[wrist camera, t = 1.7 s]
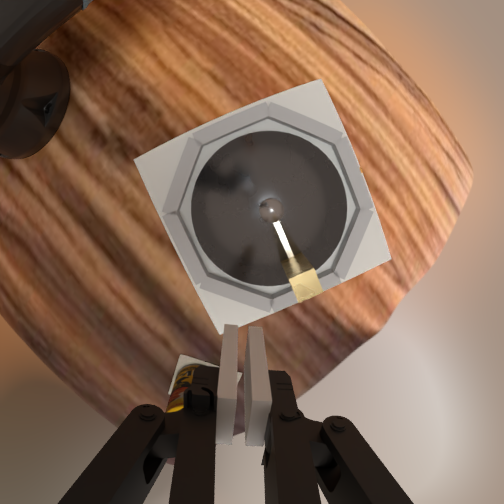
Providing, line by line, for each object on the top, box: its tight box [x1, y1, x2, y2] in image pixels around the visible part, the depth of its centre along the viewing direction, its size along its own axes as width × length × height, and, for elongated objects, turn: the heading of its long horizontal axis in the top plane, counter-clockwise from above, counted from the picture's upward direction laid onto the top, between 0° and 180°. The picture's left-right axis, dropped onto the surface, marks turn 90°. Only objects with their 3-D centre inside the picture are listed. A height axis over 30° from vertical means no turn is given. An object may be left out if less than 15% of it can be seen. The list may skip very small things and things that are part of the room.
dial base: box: [134, 79, 391, 334], centre depth 34 cm, size 22×22×4 cm
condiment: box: [165, 354, 242, 413], centre depth 35 cm, size 7×8×12 cm
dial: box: [191, 131, 347, 303], centre depth 30 cm, size 16×16×7 cm
